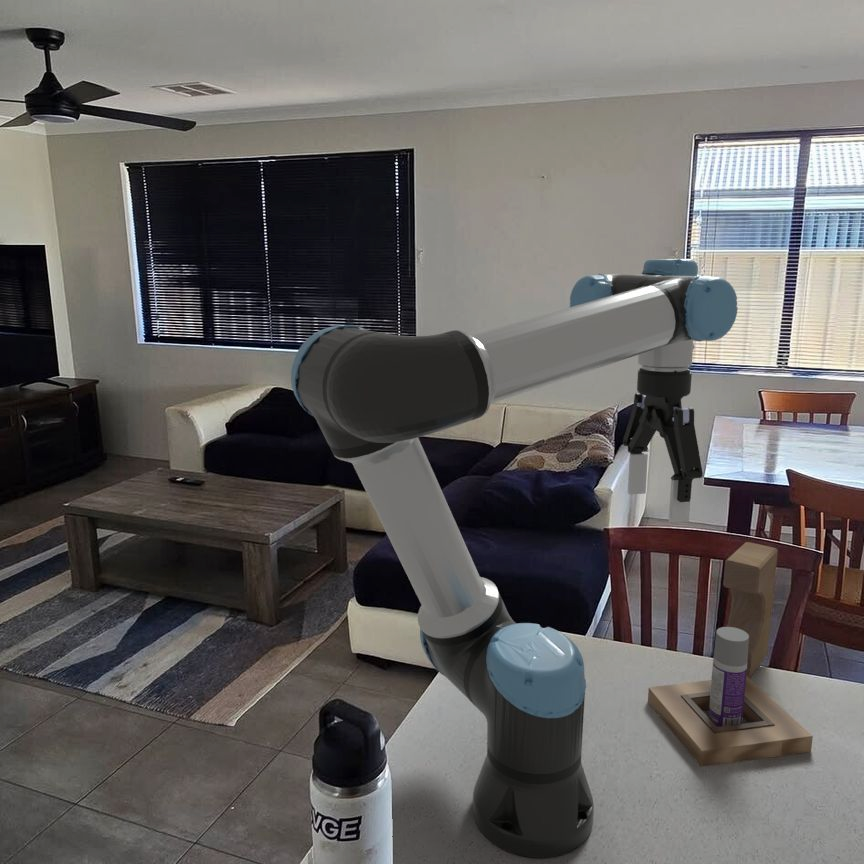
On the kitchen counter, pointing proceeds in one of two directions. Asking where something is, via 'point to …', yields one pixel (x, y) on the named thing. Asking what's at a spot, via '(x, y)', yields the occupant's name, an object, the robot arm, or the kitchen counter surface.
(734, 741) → the board
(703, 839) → the kitchen counter surface
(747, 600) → the decorative block
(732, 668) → the container
